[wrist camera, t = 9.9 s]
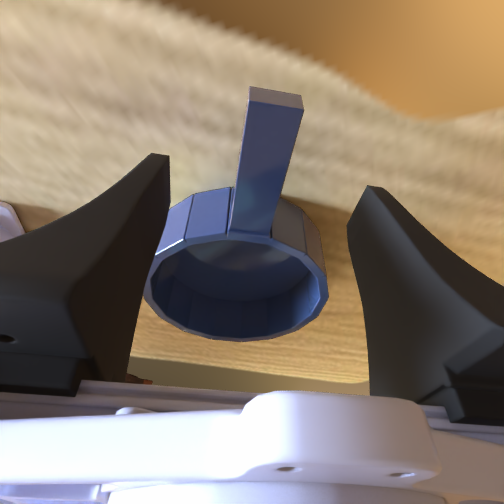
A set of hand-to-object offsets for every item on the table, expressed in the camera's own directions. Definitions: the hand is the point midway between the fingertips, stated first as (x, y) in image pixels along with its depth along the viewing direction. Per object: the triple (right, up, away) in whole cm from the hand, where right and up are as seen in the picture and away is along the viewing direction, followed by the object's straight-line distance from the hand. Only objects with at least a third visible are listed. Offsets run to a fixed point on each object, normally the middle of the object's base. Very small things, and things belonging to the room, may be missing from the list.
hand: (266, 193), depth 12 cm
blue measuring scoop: (-1, 0, +10) cm, 10 cm away
